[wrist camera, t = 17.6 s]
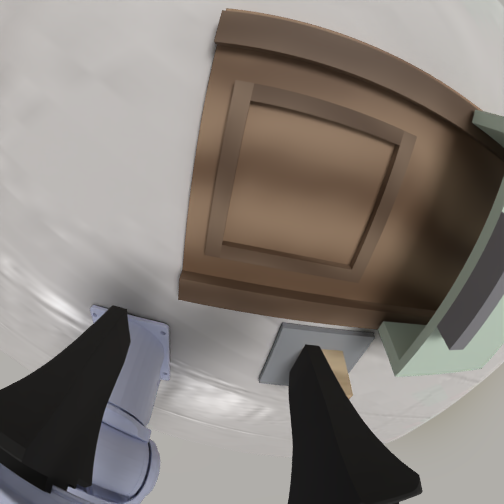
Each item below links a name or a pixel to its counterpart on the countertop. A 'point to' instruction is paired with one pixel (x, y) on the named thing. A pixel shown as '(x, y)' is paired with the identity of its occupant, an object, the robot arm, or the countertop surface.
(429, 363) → the cover
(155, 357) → the robot arm
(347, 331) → the mat
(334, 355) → the block
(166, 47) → the countertop surface
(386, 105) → the puzzle board
